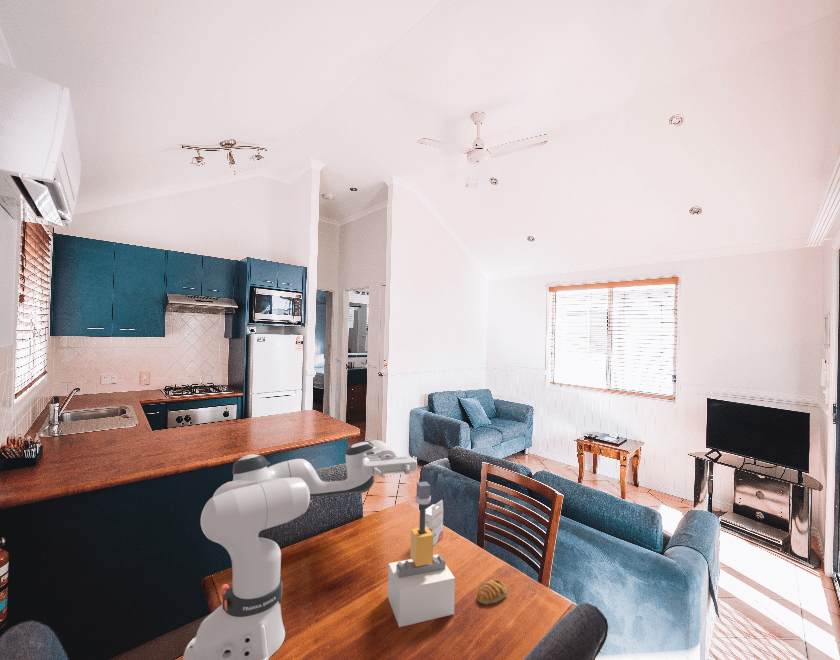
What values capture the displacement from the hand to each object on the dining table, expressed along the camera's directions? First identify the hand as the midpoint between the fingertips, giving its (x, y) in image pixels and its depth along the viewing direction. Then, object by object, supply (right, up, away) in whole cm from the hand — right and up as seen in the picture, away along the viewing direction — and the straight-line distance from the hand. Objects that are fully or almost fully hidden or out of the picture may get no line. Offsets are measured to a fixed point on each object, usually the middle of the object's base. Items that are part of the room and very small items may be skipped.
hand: (394, 473), depth 130 cm
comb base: (+9, -30, -22) cm, 38 cm away
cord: (+9, -20, -21) cm, 31 cm away
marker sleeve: (+9, -17, -21) cm, 29 cm away
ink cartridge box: (+13, -31, +13) cm, 36 cm away
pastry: (+30, -31, -17) cm, 46 cm away
